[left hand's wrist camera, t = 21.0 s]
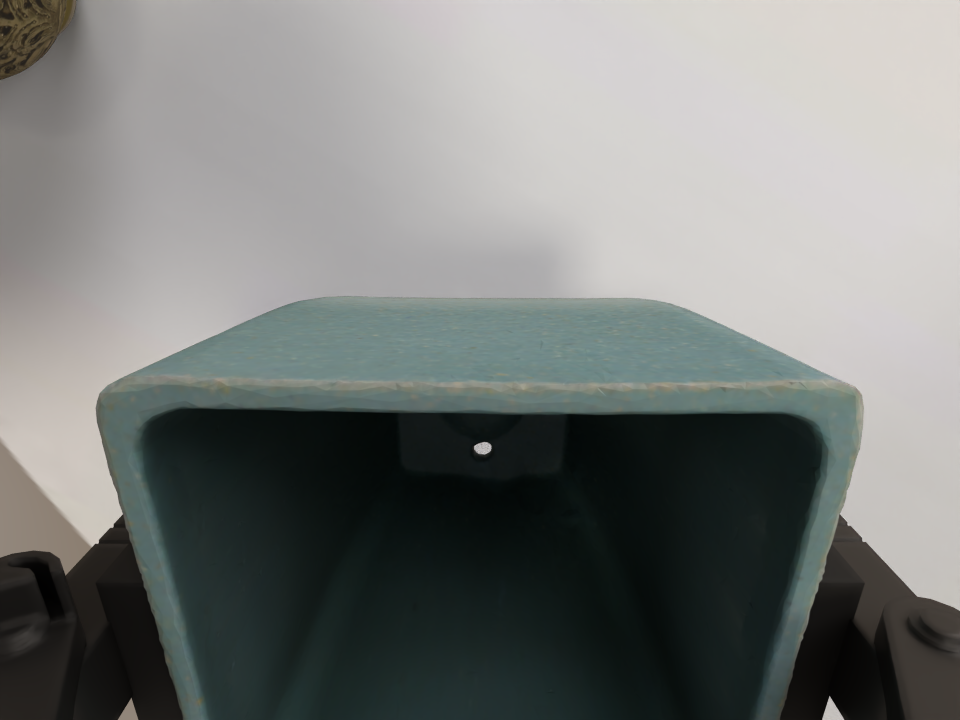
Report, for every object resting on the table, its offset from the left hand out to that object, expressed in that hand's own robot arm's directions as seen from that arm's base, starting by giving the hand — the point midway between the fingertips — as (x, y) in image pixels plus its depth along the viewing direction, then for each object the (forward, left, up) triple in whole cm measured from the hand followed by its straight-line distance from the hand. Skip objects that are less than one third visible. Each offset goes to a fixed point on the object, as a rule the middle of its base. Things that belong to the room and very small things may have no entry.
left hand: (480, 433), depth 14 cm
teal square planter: (0, 0, -2) cm, 2 cm away
